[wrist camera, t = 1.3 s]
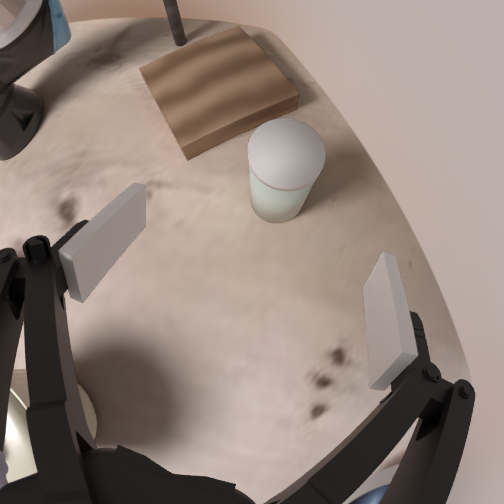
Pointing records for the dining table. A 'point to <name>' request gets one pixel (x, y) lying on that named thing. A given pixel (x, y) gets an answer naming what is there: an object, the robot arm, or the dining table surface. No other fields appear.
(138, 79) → the dining table surface
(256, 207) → the domed lid bottle
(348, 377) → the dining table surface
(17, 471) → the canister
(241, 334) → the dining table surface
